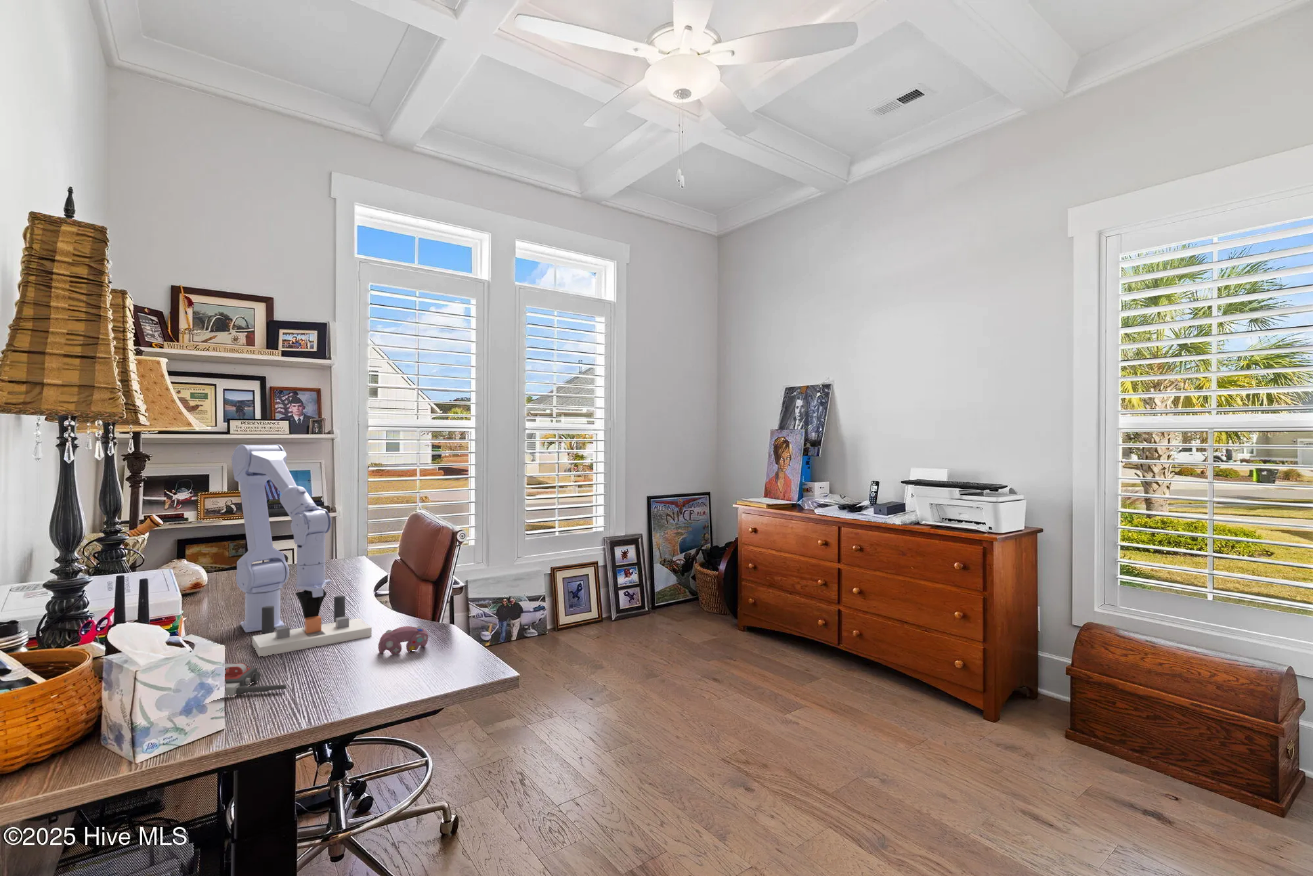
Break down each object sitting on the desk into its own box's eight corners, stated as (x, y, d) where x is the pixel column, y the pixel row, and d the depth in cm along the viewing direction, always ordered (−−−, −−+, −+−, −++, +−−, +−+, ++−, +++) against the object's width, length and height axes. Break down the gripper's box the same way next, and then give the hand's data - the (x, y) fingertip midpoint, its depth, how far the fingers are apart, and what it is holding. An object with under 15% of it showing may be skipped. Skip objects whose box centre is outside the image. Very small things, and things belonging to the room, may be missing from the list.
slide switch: (304, 631, 141) (304, 618, 141) (319, 628, 143) (319, 615, 143) (306, 633, 140) (306, 620, 140) (321, 630, 142) (321, 617, 142)
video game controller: (378, 664, 131) (380, 638, 128) (377, 649, 134) (378, 623, 132) (428, 656, 135) (431, 631, 133) (425, 642, 139) (428, 617, 136)
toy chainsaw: (156, 705, 108) (283, 697, 111) (156, 679, 108) (283, 672, 111) (185, 686, 116) (302, 678, 120) (185, 662, 116) (302, 655, 120)
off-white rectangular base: (252, 645, 138) (252, 627, 138) (359, 626, 152) (359, 609, 152) (259, 657, 130) (259, 637, 131) (371, 636, 145) (371, 618, 145)
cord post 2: (332, 625, 153) (333, 596, 153) (343, 623, 155) (343, 595, 155) (335, 627, 151) (335, 598, 151) (346, 625, 153) (346, 596, 153)
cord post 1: (260, 637, 144) (261, 606, 144) (273, 635, 145) (273, 605, 145) (262, 640, 142) (262, 609, 142) (274, 638, 143) (275, 607, 143)
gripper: (338, 565, 140) (338, 626, 140) (323, 556, 152) (323, 613, 151) (302, 569, 136) (302, 632, 136) (289, 560, 147) (289, 618, 147)
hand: (311, 622), depth 143 cm, fingers closed
